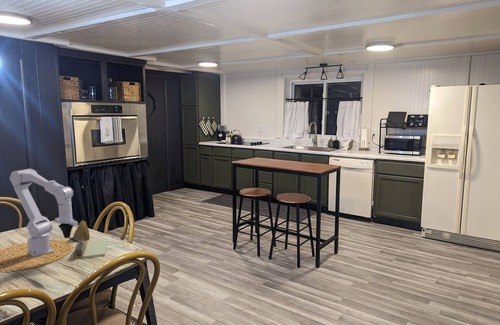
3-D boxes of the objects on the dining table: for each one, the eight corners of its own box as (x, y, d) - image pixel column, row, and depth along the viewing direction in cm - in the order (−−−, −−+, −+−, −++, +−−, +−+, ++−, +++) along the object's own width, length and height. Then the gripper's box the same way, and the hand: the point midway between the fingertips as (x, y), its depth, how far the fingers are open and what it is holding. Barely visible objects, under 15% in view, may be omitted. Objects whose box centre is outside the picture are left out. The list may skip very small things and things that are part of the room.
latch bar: (78, 248, 179) (78, 243, 179) (84, 248, 180) (83, 242, 179) (76, 255, 170) (75, 250, 170) (81, 255, 171) (81, 249, 171)
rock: (94, 235, 196) (93, 228, 204) (84, 226, 192) (82, 218, 200) (78, 248, 193) (77, 240, 202) (67, 239, 189) (66, 231, 197)
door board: (78, 243, 189) (78, 235, 189) (107, 240, 194) (107, 232, 194) (72, 259, 169) (71, 250, 168) (105, 255, 174) (104, 247, 173)
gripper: (48, 211, 170) (50, 237, 172) (67, 215, 164) (69, 242, 166) (61, 208, 177) (63, 233, 178) (80, 211, 170) (82, 237, 172)
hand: (67, 237), depth 173 cm, fingers closed
